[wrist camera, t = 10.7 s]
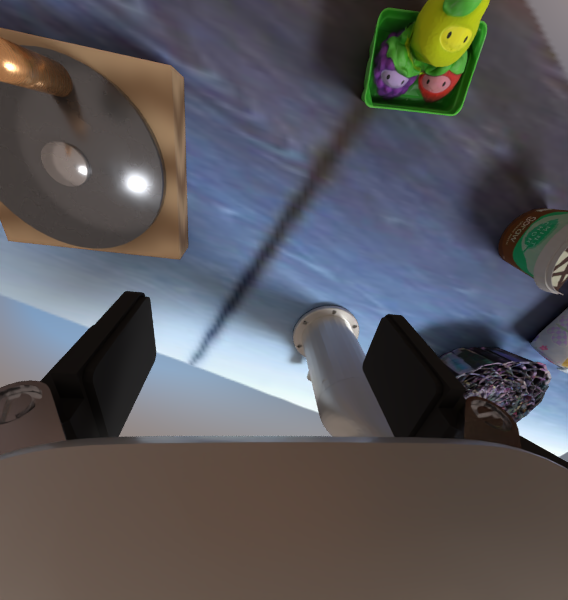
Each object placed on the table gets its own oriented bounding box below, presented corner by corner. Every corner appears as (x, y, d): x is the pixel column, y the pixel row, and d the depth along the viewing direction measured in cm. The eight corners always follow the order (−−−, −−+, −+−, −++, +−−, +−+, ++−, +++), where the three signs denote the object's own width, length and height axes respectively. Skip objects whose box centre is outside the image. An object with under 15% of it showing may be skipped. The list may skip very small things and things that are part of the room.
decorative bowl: (481, 402, 69) (515, 437, 61) (385, 419, 66) (408, 459, 57) (524, 325, 56) (576, 356, 48) (408, 340, 53) (442, 377, 44)
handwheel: (167, 85, 25) (130, 60, 18) (165, 256, 34) (140, 286, 27) (-58, 20, 22) (-217, -46, 14) (4, 228, 30) (-76, 253, 23)
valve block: (188, 247, 39) (179, 259, 35) (38, 229, 36) (8, 240, 31) (183, 77, 29) (171, 65, 25) (-24, 32, 26) (-80, 10, 22)
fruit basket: (348, 112, 32) (388, 97, 23) (364, 11, 28) (421, -61, 18) (433, 120, 34) (504, 109, 24) (460, 25, 29) (562, -36, 19)
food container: (524, 189, 39) (600, 201, 31) (555, 199, 40) (635, 213, 32) (476, 263, 45) (528, 290, 36) (504, 270, 46) (560, 298, 38)
